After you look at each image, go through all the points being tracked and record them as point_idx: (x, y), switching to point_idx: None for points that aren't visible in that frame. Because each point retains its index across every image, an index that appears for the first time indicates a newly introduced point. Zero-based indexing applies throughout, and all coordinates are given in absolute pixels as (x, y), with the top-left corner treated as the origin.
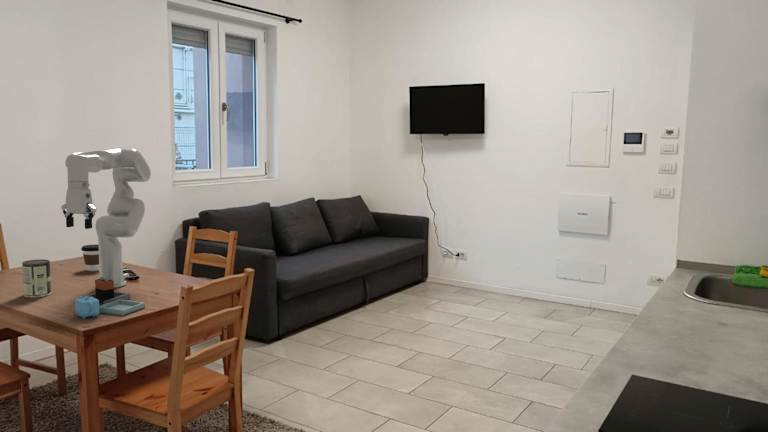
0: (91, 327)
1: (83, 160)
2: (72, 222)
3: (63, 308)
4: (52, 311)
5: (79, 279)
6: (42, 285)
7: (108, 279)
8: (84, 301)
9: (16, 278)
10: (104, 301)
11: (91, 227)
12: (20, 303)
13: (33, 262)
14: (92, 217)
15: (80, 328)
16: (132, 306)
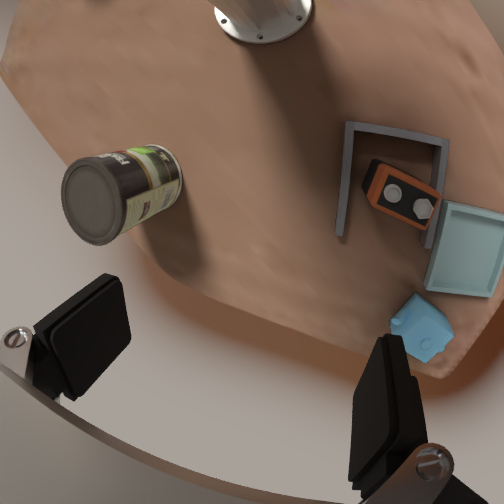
0: (451, 365)
1: None
2: (96, 314)
3: (322, 275)
4: (314, 303)
5: (130, 11)
6: (163, 198)
7: (419, 191)
8: (426, 354)
9: (31, 97)
10: (427, 248)
11: (398, 345)
12: (186, 262)
13: (87, 210)
14: (445, 472)
15: (434, 374)
16: (501, 261)
